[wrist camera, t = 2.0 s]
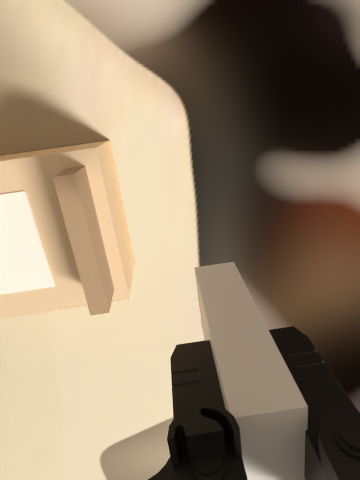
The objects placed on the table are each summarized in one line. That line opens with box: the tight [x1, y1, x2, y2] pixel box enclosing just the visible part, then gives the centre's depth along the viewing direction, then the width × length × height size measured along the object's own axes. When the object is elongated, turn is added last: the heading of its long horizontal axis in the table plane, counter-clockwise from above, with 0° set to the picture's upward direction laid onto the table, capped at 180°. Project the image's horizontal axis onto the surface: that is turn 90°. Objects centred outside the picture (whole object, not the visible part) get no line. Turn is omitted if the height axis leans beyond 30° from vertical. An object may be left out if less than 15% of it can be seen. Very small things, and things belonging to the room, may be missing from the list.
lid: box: [0, 147, 130, 319], centre depth 21 cm, size 14×11×4 cm
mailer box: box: [0, 140, 134, 294], centre depth 25 cm, size 14×11×6 cm
